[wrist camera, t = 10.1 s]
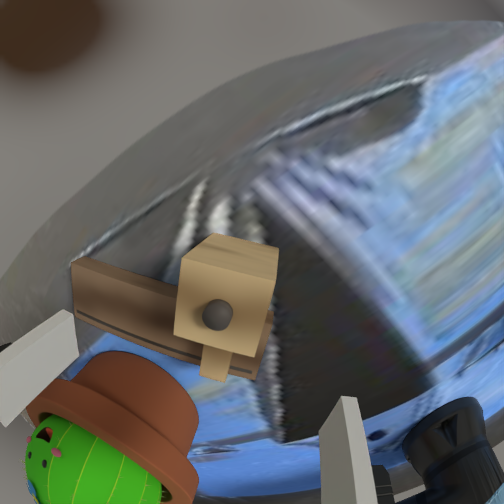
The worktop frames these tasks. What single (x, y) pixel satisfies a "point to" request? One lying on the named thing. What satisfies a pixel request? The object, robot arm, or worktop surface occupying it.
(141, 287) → the board
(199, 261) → the tan wooden block
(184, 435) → the potted cactus
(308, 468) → the worktop surface
